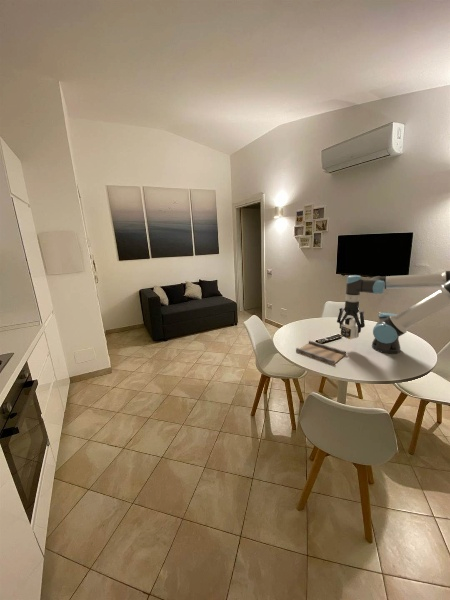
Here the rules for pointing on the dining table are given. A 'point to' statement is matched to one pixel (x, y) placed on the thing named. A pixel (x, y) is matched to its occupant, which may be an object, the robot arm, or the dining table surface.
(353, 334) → the medicine bottle
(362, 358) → the dining table surface
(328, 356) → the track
